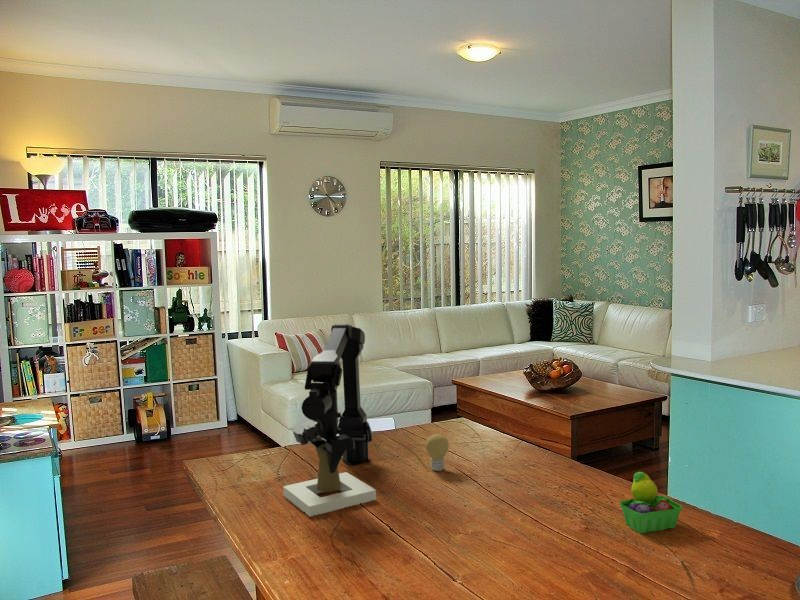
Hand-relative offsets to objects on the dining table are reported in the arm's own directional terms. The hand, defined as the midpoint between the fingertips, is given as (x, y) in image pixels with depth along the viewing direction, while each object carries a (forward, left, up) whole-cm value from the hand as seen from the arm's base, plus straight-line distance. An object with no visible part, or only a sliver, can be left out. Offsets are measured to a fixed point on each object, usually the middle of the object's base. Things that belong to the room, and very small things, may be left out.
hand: (328, 470), depth 170 cm
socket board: (0, 0, -7) cm, 7 cm away
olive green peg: (0, 0, -5) cm, 5 cm away
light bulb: (-34, -1, -7) cm, 35 cm away
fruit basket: (-51, +56, -7) cm, 76 cm away
